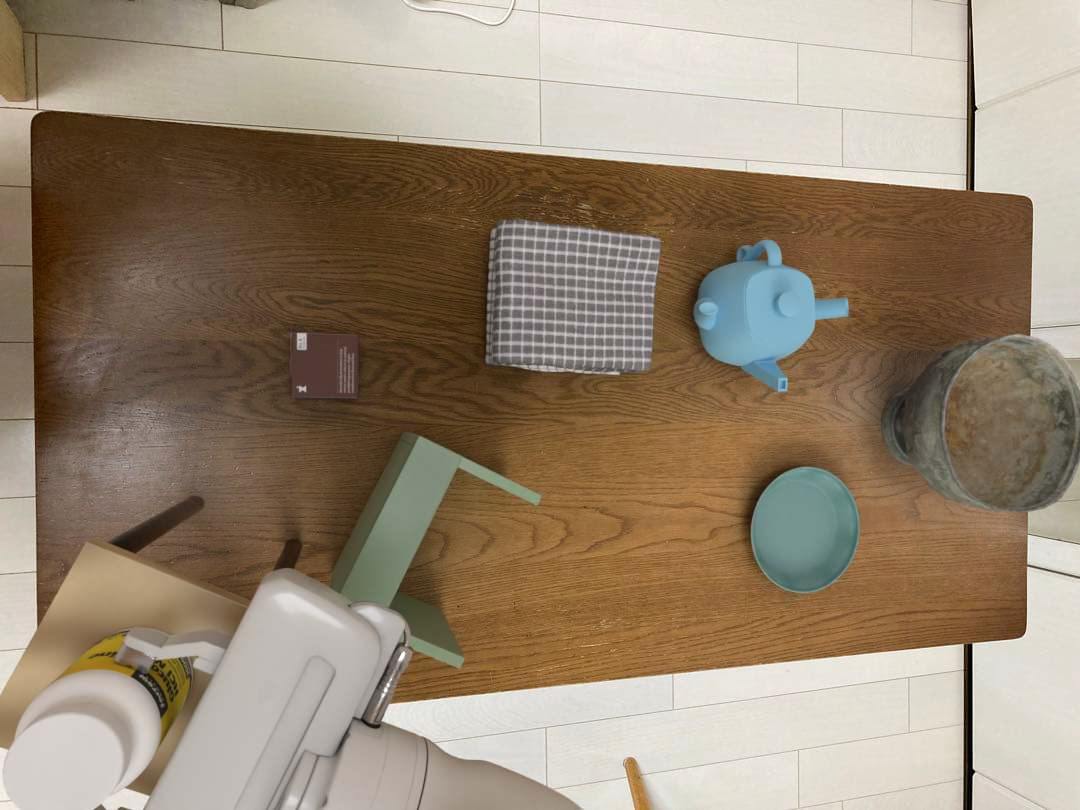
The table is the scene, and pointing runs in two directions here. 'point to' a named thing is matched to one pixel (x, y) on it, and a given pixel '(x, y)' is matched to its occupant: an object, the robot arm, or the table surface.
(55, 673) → the stand
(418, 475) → the cubby
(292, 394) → the box
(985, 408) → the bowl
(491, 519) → the table surface
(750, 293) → the teapot
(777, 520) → the saucer
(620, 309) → the towel
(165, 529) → the stand legs
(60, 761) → the pill bottle
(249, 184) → the table surface
